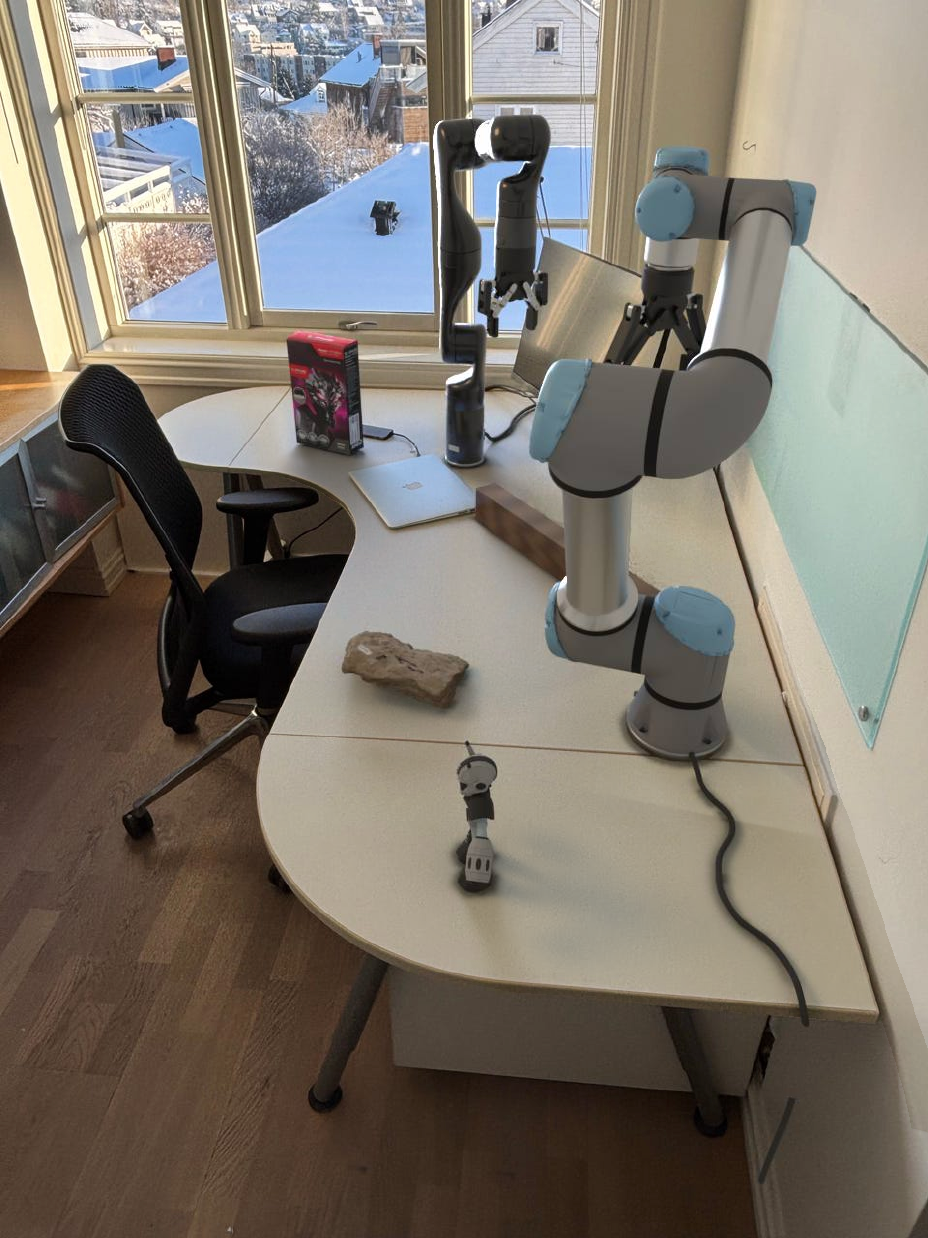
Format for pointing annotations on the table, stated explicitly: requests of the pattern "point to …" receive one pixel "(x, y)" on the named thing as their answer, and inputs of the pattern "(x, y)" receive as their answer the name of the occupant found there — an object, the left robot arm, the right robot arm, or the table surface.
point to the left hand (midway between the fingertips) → (512, 332)
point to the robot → (476, 819)
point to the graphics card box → (326, 391)
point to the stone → (404, 667)
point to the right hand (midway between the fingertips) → (651, 403)
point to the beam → (531, 531)
